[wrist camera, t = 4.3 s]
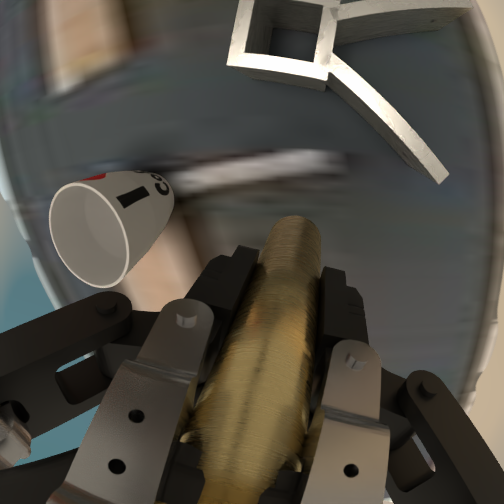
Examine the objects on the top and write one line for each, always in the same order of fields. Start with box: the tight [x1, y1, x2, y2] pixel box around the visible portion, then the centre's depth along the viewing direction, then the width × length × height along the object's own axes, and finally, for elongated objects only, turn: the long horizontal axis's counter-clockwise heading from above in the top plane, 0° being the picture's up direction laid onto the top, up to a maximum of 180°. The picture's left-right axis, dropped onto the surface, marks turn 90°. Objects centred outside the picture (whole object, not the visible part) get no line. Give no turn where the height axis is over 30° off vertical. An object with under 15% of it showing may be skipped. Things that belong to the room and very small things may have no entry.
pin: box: [157, 216, 321, 504], centre depth 8 cm, size 3×3×13 cm
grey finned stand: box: [227, 0, 473, 184], centre depth 16 cm, size 14×14×7 cm
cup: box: [49, 170, 174, 288], centre depth 23 cm, size 8×8×10 cm
